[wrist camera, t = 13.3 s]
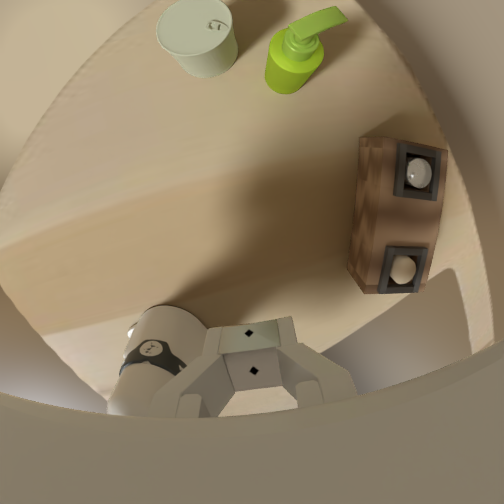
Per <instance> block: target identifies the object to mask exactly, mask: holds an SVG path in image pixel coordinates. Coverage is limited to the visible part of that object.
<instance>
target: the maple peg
mask: <svg viewBox="0 0 504 504" xmlns="http://www.w3.org/2000/svg"><path fill="white" fill-rule="evenodd" d="M415 272H416V265H415V262H414V261H413V260H412V259H410V258H409V257H408V256H407V255H393V261H392V266H391V270H390V276H391V277H392V278H393V280H394V281H395V282H396V283H398V284H405V283H407V282H409V281H410V280H411V279H412V278H413V276H414V275H415Z"/></svg>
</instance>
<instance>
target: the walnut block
mask: <svg viewBox="0 0 504 504" xmlns="http://www.w3.org/2000/svg"><path fill="white" fill-rule="evenodd" d="M406 156H408V157H415V158H421V159H424V160H426V161H427V162H428V163H429V165H430V167H431V171H432V176H431V180H430V182H429V184H428V185H427V186H425V187H423V188H417V187H414V186H411V185H408V184H404V178H405V166H406ZM447 158H448V150H444V149H440V148H436V147H432V146H427V145H423V144H418V143H414V142H409V141H404V140H398V139H393V138H387V137H360V138H359V159H358V175H357V188H356V199H355V209H354V218H353V227H352V235H351V243H350V251H349V258H348V264H347V270H348V271H349V272H350V274H351V275H352V277H353V278H354V280H355V281H356V283H357V284H358V286H359V287H360V289H361V290H362V292H363V293H364V294H392V293H414V292H424V290H425V286H426V282H427V279H428V275H429V271H430V267H431V263H432V259H433V254H434V250H435V245H436V240H437V235H438V230H439V224H440V218H441V212H442V205H443V198H444V190H445V181H446V171H447ZM393 255H407V256H408V257H409V258H410V259H412V260H413V261H414V262H415V265H416V272H415V275H414V276H413V278H412V279H411V280H410V281H409V282H407V283H405V284H398V283H396V282H395V281H394V280H393V278H392V277H391V276H390V270H391V266H392V261H393Z"/></svg>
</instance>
